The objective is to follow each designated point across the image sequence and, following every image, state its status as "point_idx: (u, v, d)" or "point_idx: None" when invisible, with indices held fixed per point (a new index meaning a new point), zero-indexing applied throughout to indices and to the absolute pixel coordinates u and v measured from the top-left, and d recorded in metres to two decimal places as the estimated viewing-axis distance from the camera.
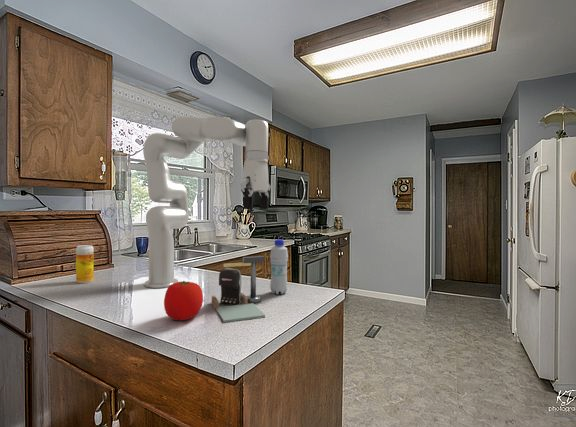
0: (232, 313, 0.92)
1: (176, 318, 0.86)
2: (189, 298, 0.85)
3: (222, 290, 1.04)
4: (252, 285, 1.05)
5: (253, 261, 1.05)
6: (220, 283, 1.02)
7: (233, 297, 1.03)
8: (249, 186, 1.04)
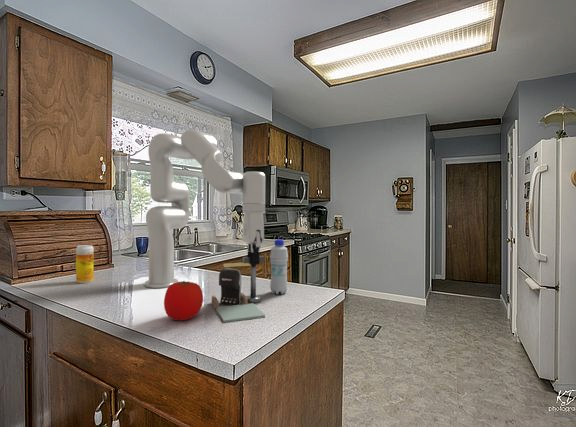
0: (232, 313, 0.92)
1: (176, 318, 0.86)
2: (189, 298, 0.85)
3: (222, 290, 1.04)
4: (252, 285, 1.05)
5: None
6: (220, 283, 1.02)
7: (233, 297, 1.03)
8: (253, 240, 1.04)
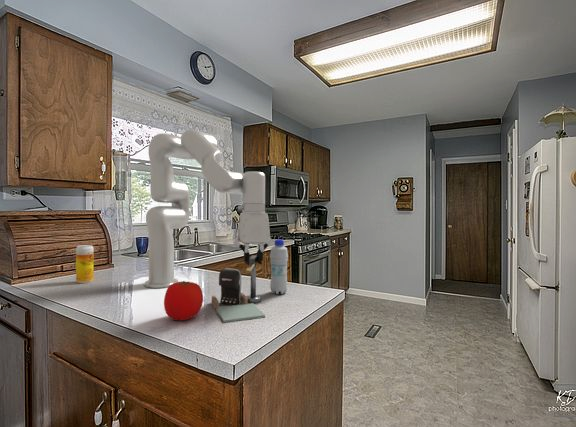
0: (232, 313, 0.92)
1: (176, 318, 0.86)
2: (189, 298, 0.85)
3: (222, 290, 1.04)
4: (255, 285, 1.06)
5: (256, 261, 1.06)
6: (220, 283, 1.02)
7: (233, 297, 1.03)
8: None
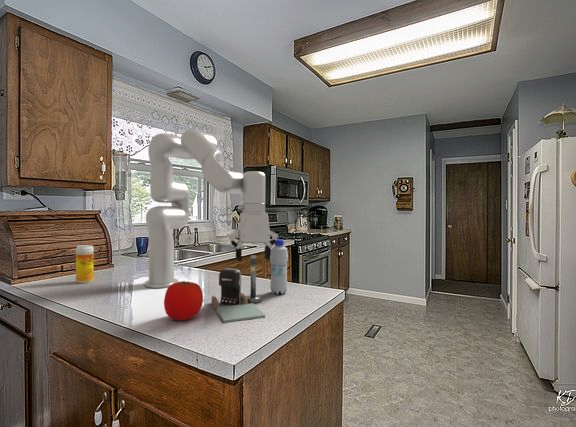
0: (232, 313, 0.92)
1: (176, 318, 0.86)
2: (189, 298, 0.85)
3: (222, 290, 1.04)
4: (255, 285, 1.06)
5: None
6: (220, 283, 1.02)
7: (233, 297, 1.03)
8: None
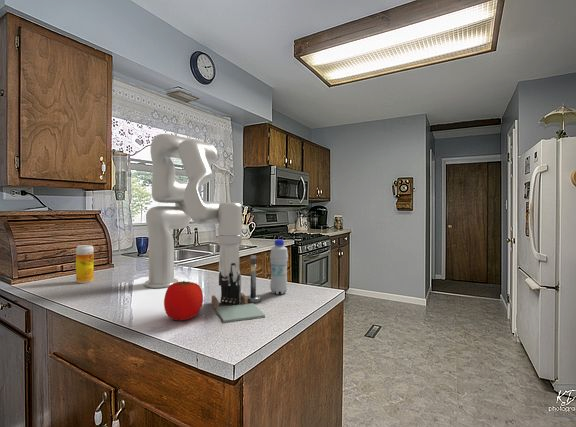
0: (232, 313, 0.92)
1: (176, 318, 0.86)
2: (189, 298, 0.85)
3: (222, 290, 1.04)
4: (255, 285, 1.06)
5: None
6: (220, 283, 1.02)
7: None
8: (229, 272, 1.00)
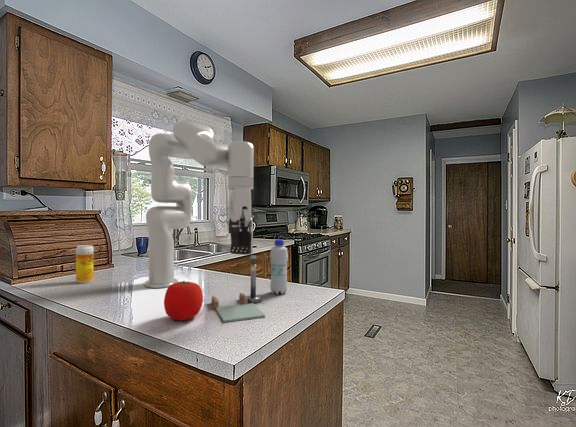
0: (232, 313, 0.92)
1: (176, 318, 0.86)
2: (189, 298, 0.85)
3: (232, 239, 0.95)
4: (255, 285, 1.06)
5: None
6: (230, 230, 0.93)
7: (244, 246, 0.94)
8: (240, 218, 0.91)
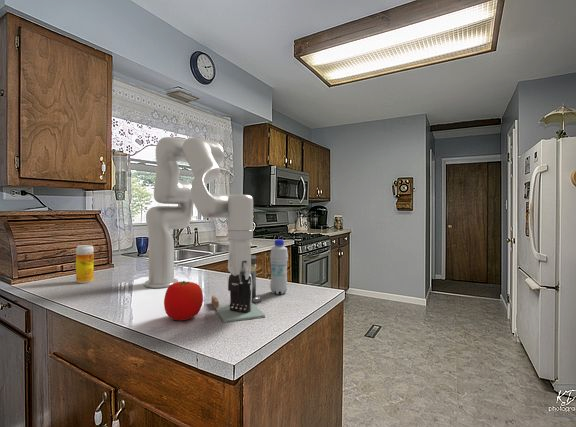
0: (232, 313, 0.92)
1: (176, 318, 0.86)
2: (189, 298, 0.85)
3: (231, 296, 0.96)
4: (255, 285, 1.06)
5: None
6: (229, 288, 0.94)
7: (244, 303, 0.94)
8: (240, 270, 0.91)
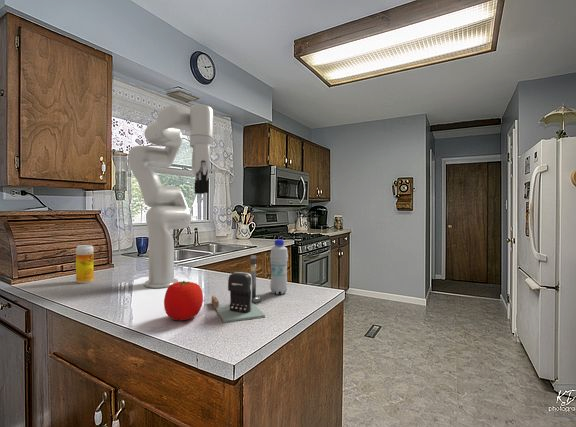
0: (232, 313, 0.92)
1: (176, 318, 0.86)
2: (189, 298, 0.85)
3: (231, 296, 0.96)
4: (255, 285, 1.06)
5: None
6: (229, 288, 0.94)
7: (244, 303, 0.94)
8: (200, 170, 1.04)
